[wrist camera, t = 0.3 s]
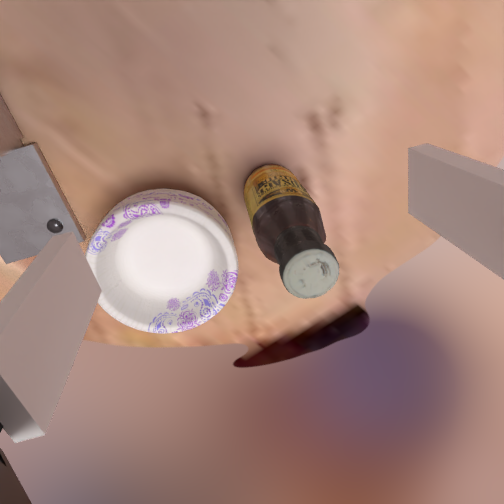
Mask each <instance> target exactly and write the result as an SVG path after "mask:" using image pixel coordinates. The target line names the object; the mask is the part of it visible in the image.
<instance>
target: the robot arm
mask: <svg viewBox="0 0 504 504" xmlns="http://www.w3.org/2000/svg"><path fill="white" fill-rule="evenodd" d="M408 213H409V214H411V215H412V216H413V217H415V218H416V219H418V220H419V221H421V222H422V223H423V224H425V225H426V226H428V227H429V228H431V229H432V230H434V231H435V232H436V233H438V234H439V235H441V236H442V237H444V238H445V239H446V240H448V241H449V242H451V243H452V244H454V245H455V246H456V247H458V248H459V249H461V250H462V251H464V252H465V253H466V254H468V255H469V256H471V257H472V258H474V259H475V260H476V261H478V262H479V263H481V264H482V265H484V266H485V267H486V268H488V269H489V270H491V271H492V272H494V273H495V274H497V275H498V276H499V277H501V278H502V279H504V170H503V169H500V168H497V167H494V166H491V165H488V164H486V163H483V162H480V161H477V160H474V159H471V158H468V157H465V156H462V155H460V154H457V153H454V152H451V151H448V150H445V149H442V148H439V147H437V146H434V145H431V144H428V143H427V144H423V145H419V146H415V147H411V148H408ZM101 292H102V290H101V288H100V286H99V284H98V282H97V280H96V278H95V276H94V274H93V271H92V269H91V267H90V265H89V263H88V261H87V259H86V257H85V255H84V253H83V251H82V249H81V247H80V245H79V243H78V241H77V239H76V237H75V235H74V233H73V231H72V232H68V233H64V234H60V235H56V236H52V238H51V239H50V240H49V241H48V243H47V244H46V245H45V246H44V248H43V249H42V250H41V251H40V253H39V254H38V255H37V256H36V258H35V259H34V260H33V262H32V263H31V264H30V265H29V267H28V268H27V269H26V270H25V272H24V273H23V274H22V275H21V277H20V278H19V279H18V280H17V282H16V283H15V284H14V285H13V287H12V288H11V289H10V290H9V292H8V293H7V294H6V295H5V297H4V298H3V299H2V300H1V302H0V432H1V430H2V428H3V429H4V430H5V431H6V432H7V434H8V435H9V436H10V437H11V438H12V440H13V441H14V442H15V443H17V442H21V441H24V440H28V439H32V438H36V437H39V436H43V435H46V432H47V429H48V427H49V424H50V422H51V419H52V417H53V414H54V411H55V409H56V407H57V404H58V401H59V399H60V396H61V394H62V391H63V389H64V386H65V384H66V381H67V379H68V376H69V373H70V371H71V368H72V366H73V363H74V361H75V357H76V355H77V353H78V350H79V348H80V345H81V343H82V340H83V338H84V335H85V333H86V330H87V328H88V325H89V322H90V320H91V317H92V315H93V312H94V310H95V307H96V305H97V302H98V300H99V297H100V294H101ZM0 504H32V503H31V501H30V500H29V498H28V496H27V494H26V492H25V490H24V489H23V487H22V485H21V483H20V481H19V480H18V478H17V476H16V474H15V472H14V471H13V469H12V467H11V465H10V463H9V461H8V460H7V458H6V456H5V454H4V452H3V451H2V450H1V449H0Z"/></svg>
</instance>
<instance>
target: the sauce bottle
mask: <svg viewBox="0 0 504 504" xmlns="http://www.w3.org/2000/svg"><path fill="white" fill-rule="evenodd" d="M244 200H245V203H246V207H247V210H248V214H249V217H250V221H251V225H252V229H253V233H254V235H255V237H256V241H257V243H258V246H259V248H260V250H261V251H262V253H263V254H264V255H265V257H266V258H268V259H269V260H271V261H273V262H275V263H277V264H279V265H280V267H279V272H280V276H281V279H282V282H283V284H284V286H285V288H286V289H287V290H288V292H290V293H291V294H293V295H294V296H296V297H299V298H316V297H319V296H321V295H323V294H325V293H326V292H327V291H328V290H330V289H331V288H332V287H333V286H334V285H335V283H336V281H337V279H338V275H339V264H338V262H337V260H336V257H335V255H334V253H333V252H332V251H331V249H330V248H329V247H328V246H327V245H325V244H324V242H325V241H326V234H325V230H324V226H323V222H322V218H321V214H320V210H319V208H318V206H317V205H316V204H315V202H314V201H313V199H312V198H311V197H310V195H309V194H308V193H307V191H306V190H305V189H304V187H303V186H302V185H301V184H300V182H299V181H298V180H297V178H296V177H295V176H294V174H293V173H291V172H290V171H289V170H287V169H286V168H284V167H281V166H280V165H275V164H269V165H265V166H262V167H259V168H257V169H255V170H254V171H253V172H252V174H251V175H250V176H249V177H248V179H247V181H246V184H245V187H244Z"/></svg>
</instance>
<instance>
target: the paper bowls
mask: <svg viewBox="0 0 504 504" xmlns="http://www.w3.org/2000/svg"><path fill="white" fill-rule="evenodd" d="M85 257H86V259H87V261H88V263H89V265H90V267H91V269H92V271H93V274H94V276H95V278H96V280H97V282H98V284H99V286H100V288H101V290H102V292H101V294H100V297H99V300H98V303H99V305H100V306H101V307H102V308H103V309H104V310H105V311H106V312H107V313H108V314H109V315H111V316H112V317H113V318H115V319H116V320H118V321H119V322H121V323H123V324H125V325H127V326H129V327H132V328H134V329H138V330H141V331H145V332H151V333H176V332H181V331H185V330H189V329H192V328H195V327H197V326H199V325H201V324H203V323H205V322H206V321H208V320H210V319H211V318H212V317H214V316H215V315H216V314H217V313H218V312H219V311H220V310H221V309H222V308H223V307H224V306H225V305H226V303H227V302H228V300H229V299H230V297H231V295H232V293H233V291H234V288H235V285H236V282H237V277H238V259H237V253H236V249H235V246H234V241H233V237H232V234H231V232H230V230H229V227H228V225H227V223H226V222H225V220H224V218H223V217H222V216H221V215H220V214H219V212H218V211H217V210H216V209H215V208H214V207H213V206H212V205H210V204H209V203H207V202H206V201H205V200H204V199H202V198H201V197H199V196H196V195H194V194H191V193H189V192H186V191H181V190H174V189H155V190H146V191H142V192H139V193H136V194H134V195H131V196H129V197H127V198H125V199H124V200H122V201H121V202H119V203H118V204H117V205H116V206H115V207H114V208H112V209H111V210H110V212H109V213H108V214H107V215H106V216H105V217H104V219H103V220H102V221H101V223H100V225H99V226H98V228H97V229H96V231H95V233H94V234H93V236H92V238H91V240H90V242H89V244H88V247H87V250H86V253H85Z"/></svg>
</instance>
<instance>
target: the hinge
mask: <svg viewBox="0 0 504 504" xmlns="http://www.w3.org/2000/svg"><path fill="white" fill-rule="evenodd" d="M21 138H23V135H22V134H21V132H20V130H19V128H18V126H17V124H16V122H15V121H14V119H13V117H12V115H11V113H10V111H9V109H8V108H7V106H6V104H5V102H4V100H3V98H2V96H1V95H0V255H1V257H2V258H3V260H4V261H5V263H6V264H8V263H11V262H15V261H18V260H21V259H25V258H28V257H32V256H35V255H38V254H39V253H40V251H41V250H42V249H43V248H44V246H45V245H46V244H47V243H48V241H49V240H50V239H51V238H52V236H56V235H60V234H64V233H68V232H72V231H73V233H74V235H75V237H76V239H77V241H78V243H80V242H83V241H84V240H85V239H86V236H85V234H84V232H83V230H82V229H81V227H80V225H79V223H78V221H77V219H76V217H75V215H74V213H73V211H72V210H71V208H70V206H69V204H68V202H67V200H66V198H65V196H64V194H63V192H62V190H61V189H60V187H59V185H58V183H57V181H56V179H55V177H54V175H53V173H52V171H51V170H50V168H49V166H48V164H47V162H46V160H45V158H44V156H43V154H42V152H41V150H40V149H39V147H38V145H37V143H33V144H30V145H27V146H23V144H22V142H21V140H20V139H21Z"/></svg>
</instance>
